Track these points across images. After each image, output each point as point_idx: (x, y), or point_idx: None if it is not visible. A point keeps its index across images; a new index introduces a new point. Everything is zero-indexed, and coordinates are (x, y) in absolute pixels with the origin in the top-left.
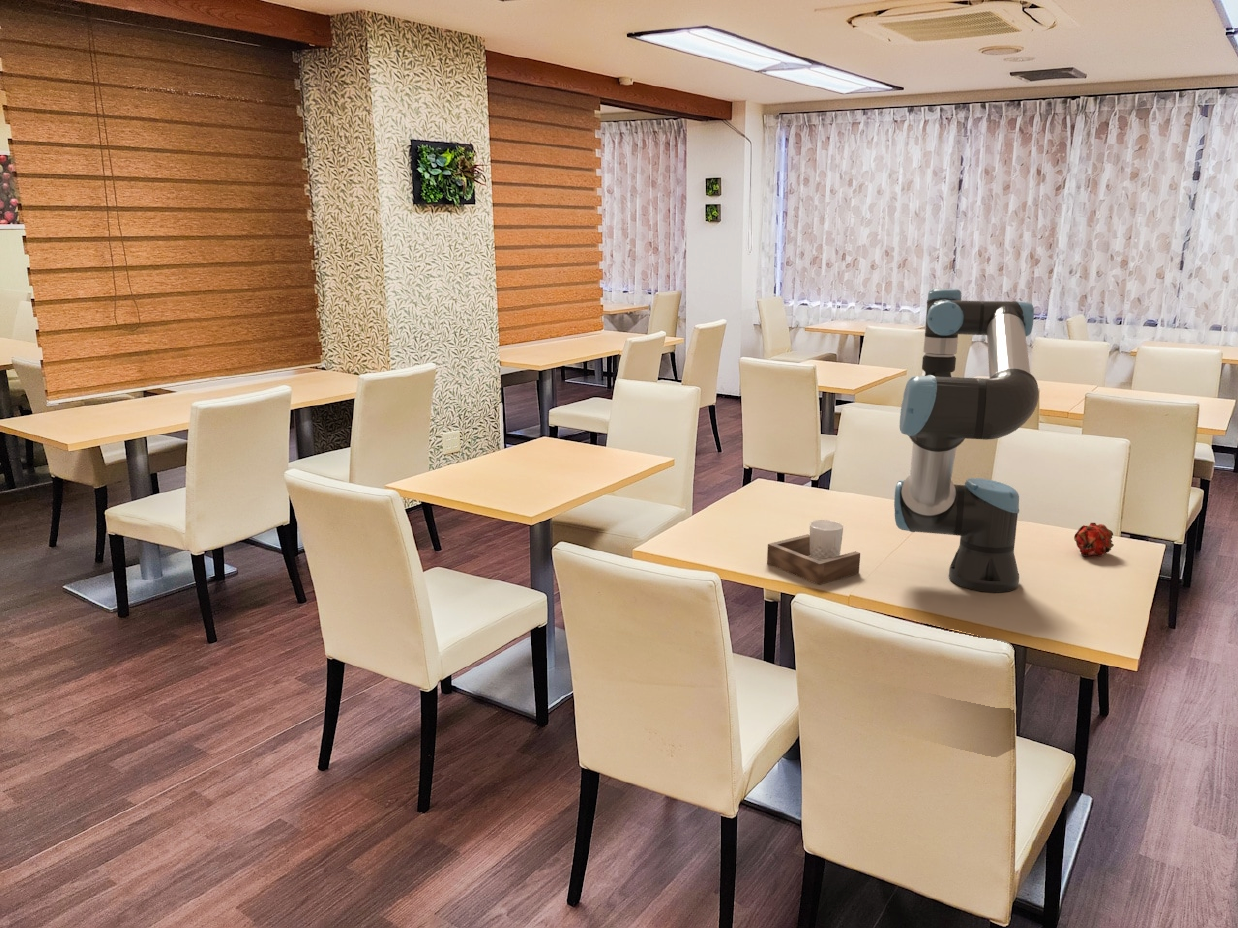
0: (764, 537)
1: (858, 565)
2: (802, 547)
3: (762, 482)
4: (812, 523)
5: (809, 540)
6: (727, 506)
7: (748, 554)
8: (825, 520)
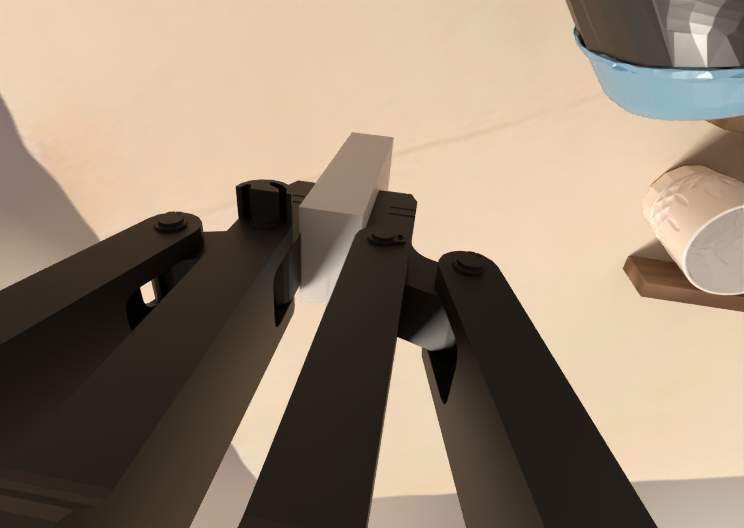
0: (574, 372)
1: None
2: (671, 274)
3: None
4: (733, 289)
5: (652, 278)
6: (446, 484)
7: (714, 342)
8: (689, 277)
